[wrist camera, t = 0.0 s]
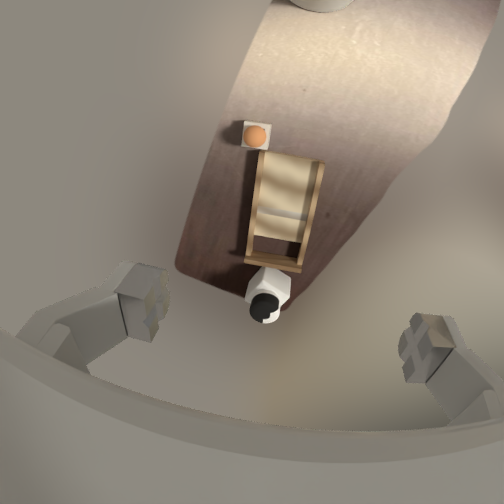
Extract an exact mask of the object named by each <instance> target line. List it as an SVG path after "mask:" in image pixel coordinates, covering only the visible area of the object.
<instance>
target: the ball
mask: <svg viewBox="0 0 504 504" xmlns="http://www.w3.org/2000/svg"><path fill="white" fill-rule="evenodd" d="M243 139H244V142H245V143H246V144H247V145H248V146H250V147H253V148H257V147H260V146H262V145H263V144H264V143H265V141H266V132H265V131H264V129H263V128H261V127H260V126H256V125H253V126H250V127H248V128H247V129H246V130H245V131H244V134H243Z"/></svg>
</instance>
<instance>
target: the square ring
mask: <svg viewBox="0 0 504 504" xmlns="http://www.w3.org/2000/svg"><path fill="white" fill-rule="evenodd" d="M253 125H256V126H260V127H261V128H263V129H265V132H266V141H265V143H264V144H263V145H262V146H260V147H257V148H258V149H265V150H267V149H268V147H269V140H270V133H271V126H272V123H265V122H258V121H251V120H246V121H244V127H243V134H244V131H245V130H246V129H247V128H248V127H250V126H253ZM241 146H244V147H250V146H248V145H247V144H246V143H245V142H244V139H243V136H242V144H241ZM251 148H253V147H251Z"/></svg>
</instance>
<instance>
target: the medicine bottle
mask: <svg viewBox="0 0 504 504" xmlns="http://www.w3.org/2000/svg"><path fill="white" fill-rule="evenodd" d="M290 285H291V278H290V277H289V276H287V275H286V274H284V273H282V272H281V271H279V270H278V269H275V268H269V267H264V266H262V267H261V268H260V269H259V271H258V272H257V273H256V274H255V275H254V276H253V277H252V279H251V280H250V281H249V284H248V288H247V291H246V295H245V299H244V300H245V301H246V302H248V303H249V304H251V306H250V315H251V316H252V318H253V319H255V320H256V321H258V322H260V323H271V322H273V321H275V320H276V319H277V318H278V317H279V313H280V306H281V305H282V304H283V303H284V302H285V301H286V300H288V299H289V297H290Z"/></svg>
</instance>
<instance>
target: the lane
mask: <svg viewBox="0 0 504 504" xmlns="http://www.w3.org/2000/svg"><path fill="white" fill-rule="evenodd" d="M324 167H325V163H324V161H322V160H317V159H312V158H307V157H302V156H296V155H291V154H285V153H279V152H273V151H267V150H260V152H259V157H258V165H257V172H256V180H255V188H254V195H253V203H252V210H251V218H250V226H249V233H248V241H247V249H246V256H245V259H244V263H247V264H253V265H258V266H264V267H269V268H275V269H280V270H286V271H292V272H297V273H301V270H302V262H303V258H304V254H305V250H306V246H307V242H308V238H309V234H310V230H311V225H312V221H313V217H314V213H315V208H316V204H317V199H318V195H319V190H320V186H321V181H322V176H323V171H324ZM254 235H260V236H265V237H271V238H276V239H282V240H288V241H293V242H299V243H301V245H300V249H299V253H298V257H297V258H294V257H288V256H282V255H277V254H271V253H266V252H260V251H255V250H252V247H253V240H254Z"/></svg>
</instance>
